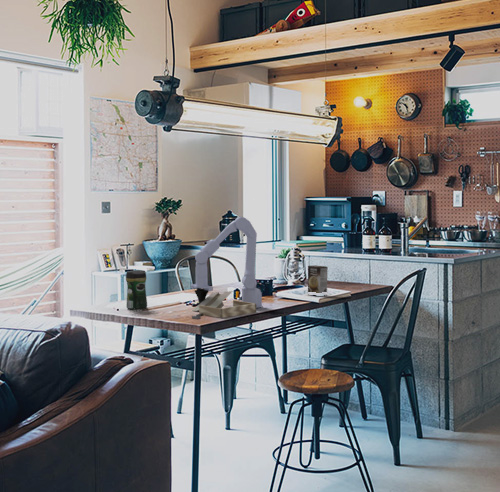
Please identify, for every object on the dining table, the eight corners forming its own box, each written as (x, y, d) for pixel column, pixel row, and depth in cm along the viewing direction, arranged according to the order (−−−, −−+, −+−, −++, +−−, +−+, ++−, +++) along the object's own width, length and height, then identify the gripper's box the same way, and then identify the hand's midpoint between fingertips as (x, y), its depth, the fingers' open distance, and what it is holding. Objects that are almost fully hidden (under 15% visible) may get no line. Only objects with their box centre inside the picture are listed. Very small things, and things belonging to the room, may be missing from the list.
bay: (234, 308, 331) (234, 300, 331) (256, 312, 320) (256, 303, 320) (199, 313, 316) (199, 305, 316) (220, 317, 305) (220, 309, 305)
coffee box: (307, 295, 375) (307, 265, 373) (315, 294, 379) (315, 265, 378) (319, 297, 368) (319, 267, 367) (327, 295, 372) (327, 266, 371)
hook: (201, 315, 313) (201, 312, 313) (207, 315, 312) (207, 313, 311) (191, 318, 304) (191, 316, 304) (198, 319, 303) (198, 316, 303)
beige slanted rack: (225, 321, 317) (240, 297, 325) (214, 309, 313) (230, 285, 321) (202, 323, 329) (217, 299, 337) (191, 310, 325) (207, 287, 333)
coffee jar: (140, 306, 339) (139, 268, 338) (149, 308, 333) (149, 270, 332) (123, 308, 332) (122, 270, 331) (132, 310, 327) (132, 271, 325)
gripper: (185, 275, 333) (185, 303, 334) (204, 278, 323) (205, 307, 324) (196, 274, 338) (197, 302, 339) (216, 277, 327) (216, 305, 328)
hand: (201, 304), depth 332 cm, fingers closed
